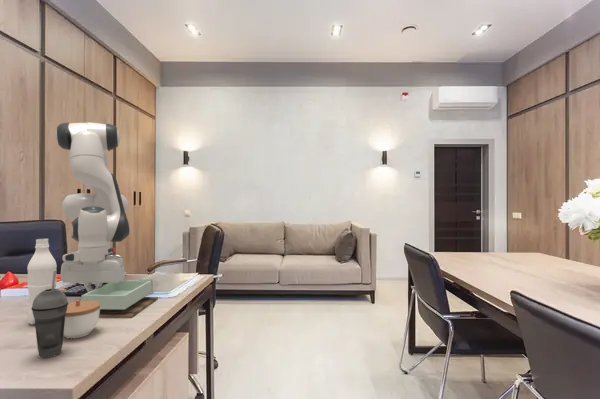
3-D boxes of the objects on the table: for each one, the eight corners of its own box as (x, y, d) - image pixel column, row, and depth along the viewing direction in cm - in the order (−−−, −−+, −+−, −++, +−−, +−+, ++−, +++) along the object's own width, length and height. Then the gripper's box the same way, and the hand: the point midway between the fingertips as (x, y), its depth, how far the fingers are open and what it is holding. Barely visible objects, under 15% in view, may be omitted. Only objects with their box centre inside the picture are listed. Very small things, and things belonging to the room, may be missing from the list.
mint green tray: (114, 295, 130) (114, 280, 130) (151, 295, 130) (151, 280, 130) (81, 312, 110) (81, 295, 110) (124, 313, 110) (124, 295, 110)
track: (103, 298, 130) (103, 295, 130) (157, 299, 130) (157, 296, 130) (67, 317, 110) (67, 314, 110) (131, 318, 110) (131, 314, 110)
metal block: (139, 292, 140) (139, 279, 140) (152, 292, 140) (152, 279, 140) (133, 295, 135) (133, 282, 135) (146, 296, 135) (146, 282, 135)
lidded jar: (60, 345, 90) (60, 309, 90) (49, 334, 97) (49, 300, 97) (106, 334, 97) (105, 300, 97) (92, 324, 105) (92, 292, 105)
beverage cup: (48, 346, 89) (48, 267, 89) (75, 347, 88) (75, 268, 88) (23, 359, 82) (23, 273, 82) (52, 361, 81) (52, 274, 81)
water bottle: (59, 322, 106) (59, 239, 106) (29, 328, 101) (29, 241, 101) (54, 316, 111) (53, 237, 111) (25, 322, 106) (25, 239, 106)
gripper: (128, 253, 123) (128, 293, 123) (70, 253, 123) (70, 292, 123) (118, 256, 117) (118, 298, 117) (57, 256, 117) (57, 297, 117)
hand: (93, 295), depth 120 cm, fingers closed
